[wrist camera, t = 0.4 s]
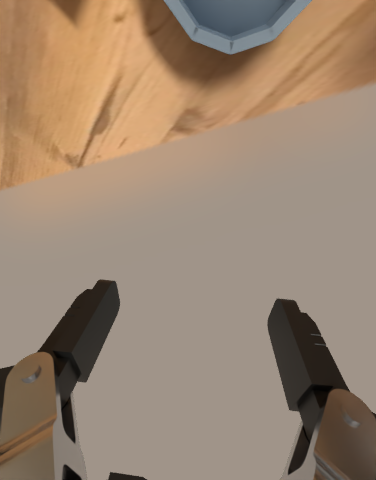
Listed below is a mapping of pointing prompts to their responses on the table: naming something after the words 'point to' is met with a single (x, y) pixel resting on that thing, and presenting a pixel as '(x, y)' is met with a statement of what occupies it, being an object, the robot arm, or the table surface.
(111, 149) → the table surface
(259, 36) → the bowl
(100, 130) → the table surface
